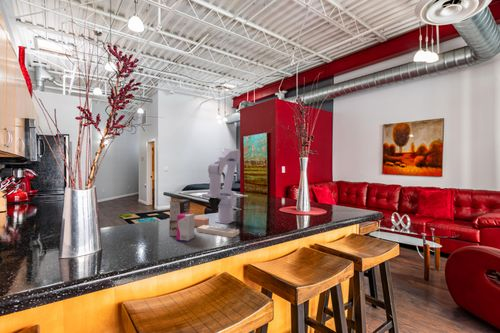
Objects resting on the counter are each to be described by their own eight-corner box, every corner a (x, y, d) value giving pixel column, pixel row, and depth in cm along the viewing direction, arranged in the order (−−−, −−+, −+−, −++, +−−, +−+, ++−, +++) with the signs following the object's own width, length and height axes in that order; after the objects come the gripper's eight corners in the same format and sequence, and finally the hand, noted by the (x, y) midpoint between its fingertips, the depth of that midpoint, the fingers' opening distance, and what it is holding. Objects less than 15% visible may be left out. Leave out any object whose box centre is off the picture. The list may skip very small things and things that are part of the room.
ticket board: (204, 228, 136) (204, 224, 136) (239, 233, 129) (239, 229, 129) (196, 231, 130) (196, 227, 130) (232, 237, 122) (232, 232, 122)
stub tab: (190, 223, 146) (190, 215, 146) (208, 225, 142) (208, 218, 142) (184, 224, 142) (184, 217, 142) (203, 227, 137) (203, 220, 137)
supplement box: (194, 238, 119) (195, 213, 119) (188, 242, 113) (188, 215, 113) (182, 237, 120) (183, 212, 120) (176, 240, 115) (176, 214, 114)
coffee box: (181, 237, 120) (182, 202, 120) (168, 235, 122) (169, 201, 121) (189, 231, 129) (190, 199, 129) (177, 230, 131) (178, 198, 130)
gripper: (199, 186, 136) (198, 212, 136) (223, 188, 130) (222, 215, 131) (206, 185, 143) (205, 210, 143) (230, 187, 137) (229, 212, 137)
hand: (214, 212), depth 137 cm, fingers closed
